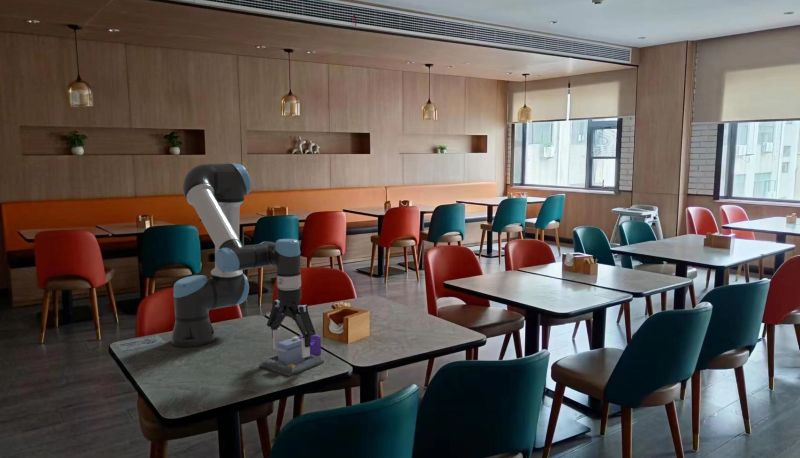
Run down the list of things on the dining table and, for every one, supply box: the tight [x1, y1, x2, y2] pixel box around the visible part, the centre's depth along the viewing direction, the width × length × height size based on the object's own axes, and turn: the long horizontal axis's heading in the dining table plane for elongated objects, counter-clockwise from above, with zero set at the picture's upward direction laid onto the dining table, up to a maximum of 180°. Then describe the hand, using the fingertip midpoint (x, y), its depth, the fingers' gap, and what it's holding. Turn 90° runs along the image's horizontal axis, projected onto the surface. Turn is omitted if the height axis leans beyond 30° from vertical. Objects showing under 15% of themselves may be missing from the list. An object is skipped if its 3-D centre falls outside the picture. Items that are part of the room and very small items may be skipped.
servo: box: [273, 336, 304, 365], centre depth 194 cm, size 4×10×8 cm, turn 142°
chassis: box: [258, 353, 325, 377], centre depth 194 cm, size 14×15×3 cm
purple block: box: [299, 333, 322, 356], centre depth 209 cm, size 12×7×7 cm, turn 13°
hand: (291, 352), depth 194 cm, fingers open, 13 cm apart
